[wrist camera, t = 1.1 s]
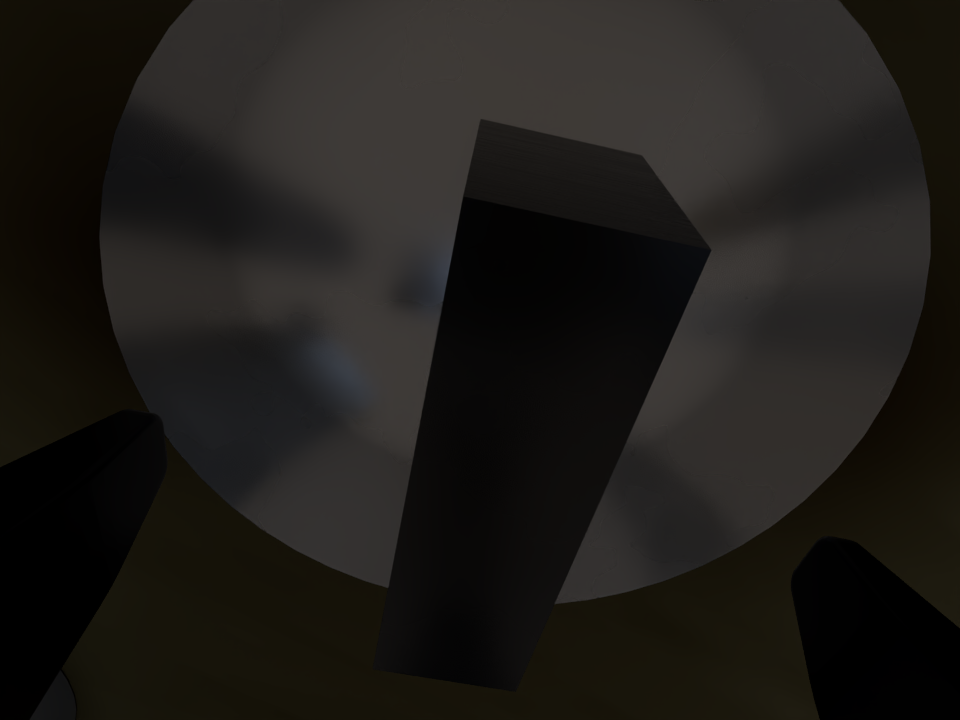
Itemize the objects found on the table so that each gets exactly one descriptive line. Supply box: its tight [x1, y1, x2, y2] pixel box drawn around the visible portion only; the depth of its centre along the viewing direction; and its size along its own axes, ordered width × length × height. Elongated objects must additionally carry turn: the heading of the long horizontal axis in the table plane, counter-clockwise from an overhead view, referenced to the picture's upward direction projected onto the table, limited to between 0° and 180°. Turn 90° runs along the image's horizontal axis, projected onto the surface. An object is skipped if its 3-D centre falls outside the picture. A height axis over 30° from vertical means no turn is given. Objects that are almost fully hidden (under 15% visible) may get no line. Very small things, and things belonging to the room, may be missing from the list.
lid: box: [99, 0, 931, 692], centre depth 10 cm, size 14×14×5 cm
